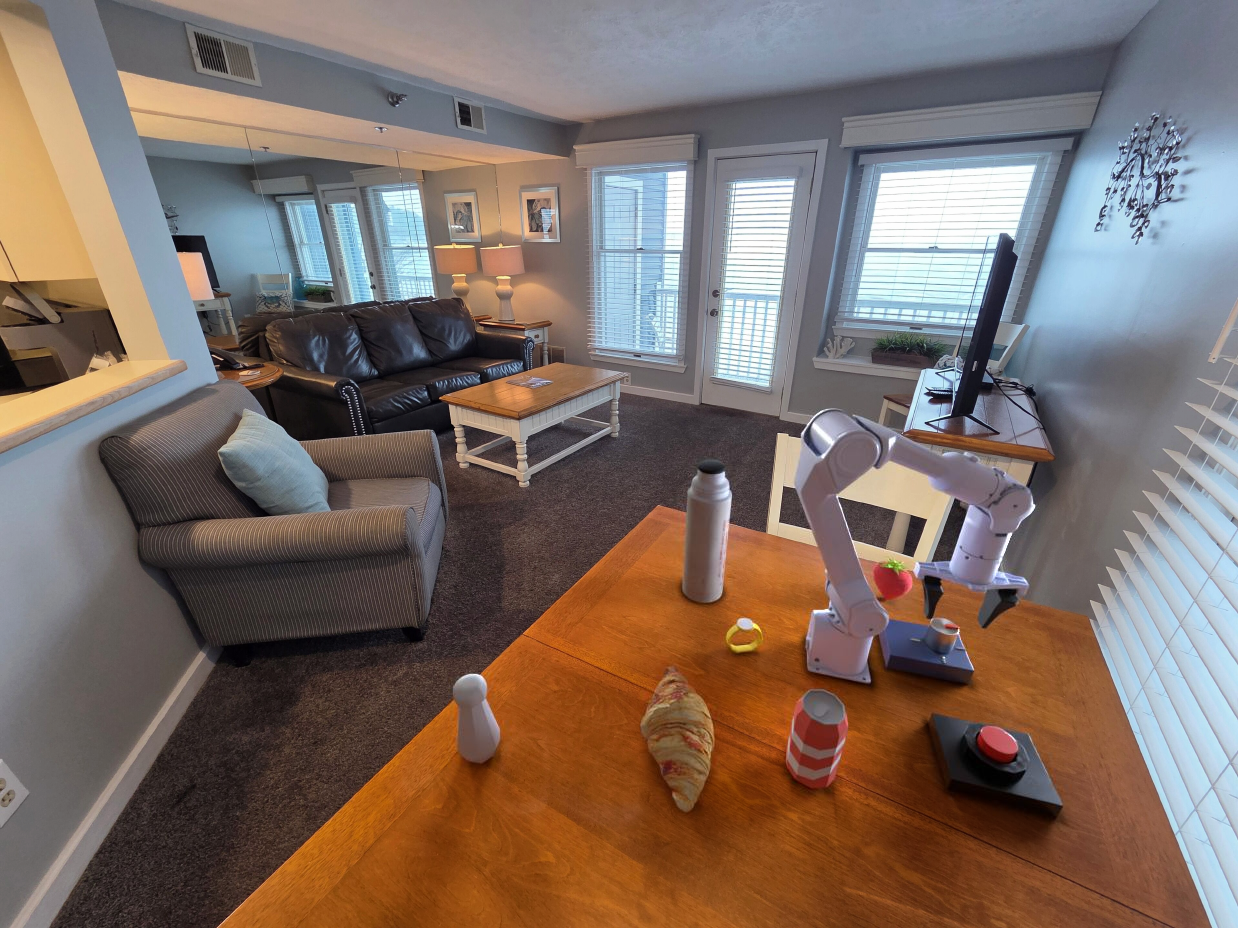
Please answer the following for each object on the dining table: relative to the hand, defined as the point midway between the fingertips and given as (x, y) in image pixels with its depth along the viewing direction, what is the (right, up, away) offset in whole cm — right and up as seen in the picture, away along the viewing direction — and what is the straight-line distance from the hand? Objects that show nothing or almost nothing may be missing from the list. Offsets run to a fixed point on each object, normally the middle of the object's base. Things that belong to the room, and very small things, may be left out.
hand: (954, 619), depth 80 cm
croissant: (-46, -15, -9) cm, 49 cm away
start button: (-4, -13, -14) cm, 19 cm away
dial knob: (-1, -5, +3) cm, 6 cm away
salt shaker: (-73, -15, -10) cm, 75 cm away
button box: (-4, -16, -13) cm, 21 cm away
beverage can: (-28, -16, -13) cm, 35 cm away
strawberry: (-1, -2, +18) cm, 18 cm away
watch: (-32, -7, +6) cm, 34 cm away
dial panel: (-3, -8, +5) cm, 9 cm away
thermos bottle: (-37, -1, +21) cm, 42 cm away
